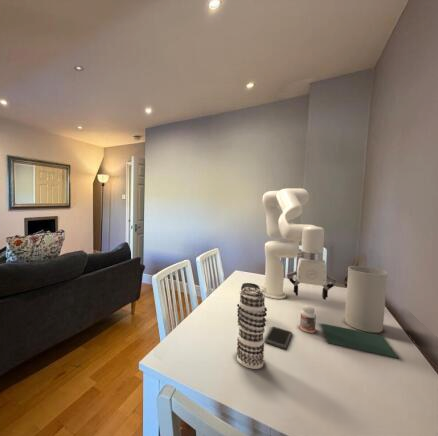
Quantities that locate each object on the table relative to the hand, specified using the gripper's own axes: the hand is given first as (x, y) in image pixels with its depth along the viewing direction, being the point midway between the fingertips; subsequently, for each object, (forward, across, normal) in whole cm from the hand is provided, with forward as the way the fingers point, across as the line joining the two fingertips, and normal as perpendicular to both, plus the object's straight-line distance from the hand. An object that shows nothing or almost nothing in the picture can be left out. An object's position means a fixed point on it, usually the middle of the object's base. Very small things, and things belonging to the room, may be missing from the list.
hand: (309, 296), depth 102 cm
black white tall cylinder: (+15, -20, -32) cm, 41 cm away
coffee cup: (+15, -23, +2) cm, 28 cm away
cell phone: (+15, -11, -12) cm, 22 cm away
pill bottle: (+15, 0, +1) cm, 15 cm away
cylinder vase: (+15, +22, +16) cm, 31 cm away
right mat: (+15, +16, +1) cm, 22 cm away
